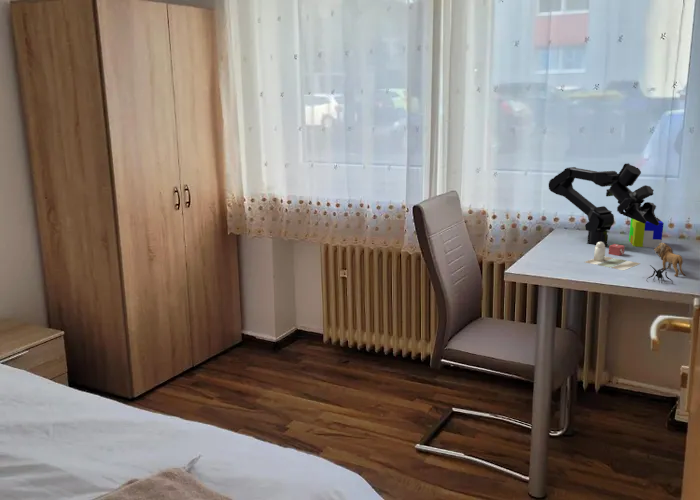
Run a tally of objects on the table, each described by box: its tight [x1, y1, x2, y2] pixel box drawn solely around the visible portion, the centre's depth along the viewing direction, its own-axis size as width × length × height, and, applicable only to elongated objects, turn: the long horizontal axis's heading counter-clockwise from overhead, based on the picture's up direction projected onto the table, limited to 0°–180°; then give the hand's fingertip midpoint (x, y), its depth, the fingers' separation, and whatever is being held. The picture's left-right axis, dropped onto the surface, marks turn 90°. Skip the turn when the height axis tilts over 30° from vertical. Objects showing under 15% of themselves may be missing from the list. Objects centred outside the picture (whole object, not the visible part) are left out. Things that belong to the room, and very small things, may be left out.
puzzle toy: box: [628, 217, 664, 249], centre depth 268 cm, size 10×10×10 cm
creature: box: [646, 264, 674, 284], centre depth 219 cm, size 8×5×8 cm
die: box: [608, 243, 626, 257], centre depth 251 cm, size 4×4×4 cm
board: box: [584, 255, 641, 271], centre depth 239 cm, size 15×14×1 cm
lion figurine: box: [653, 242, 687, 277], centre depth 229 cm, size 15×5×9 cm, turn 15°
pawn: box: [593, 242, 607, 261], centre depth 242 cm, size 4×4×7 cm
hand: (651, 223), depth 244 cm, fingers open, 9 cm apart
